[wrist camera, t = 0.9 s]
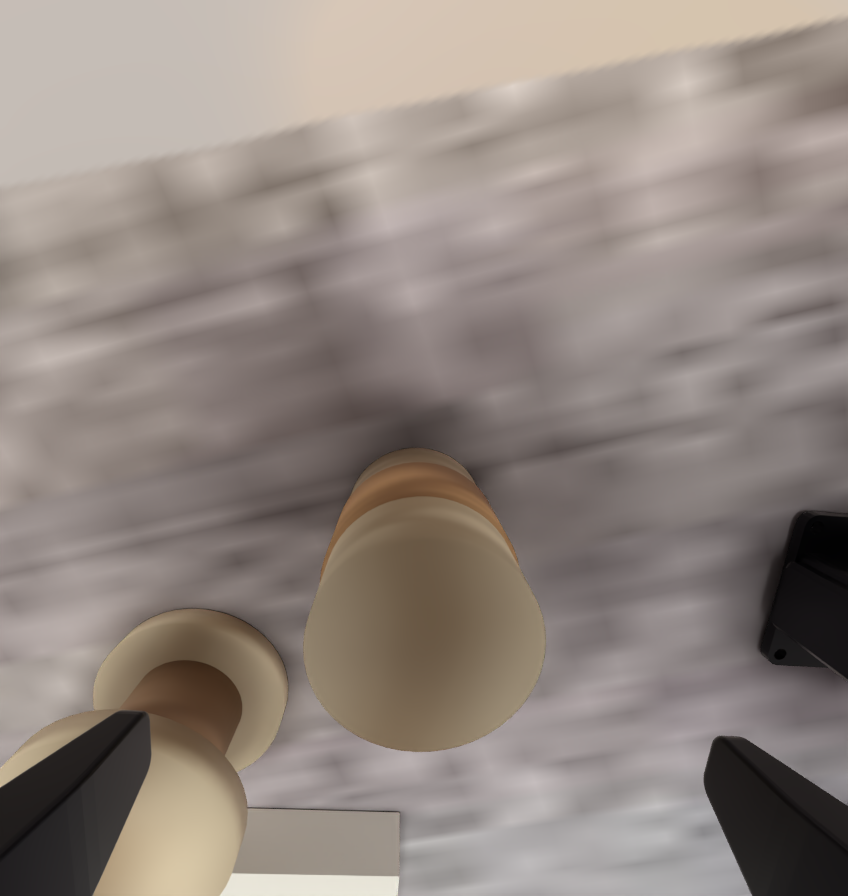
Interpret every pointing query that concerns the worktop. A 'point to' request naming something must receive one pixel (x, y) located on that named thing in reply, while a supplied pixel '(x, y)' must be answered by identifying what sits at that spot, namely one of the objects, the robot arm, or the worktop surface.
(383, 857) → the notched board
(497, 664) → the copper spool
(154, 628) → the bobbin
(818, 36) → the worktop surface
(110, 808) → the robot arm
